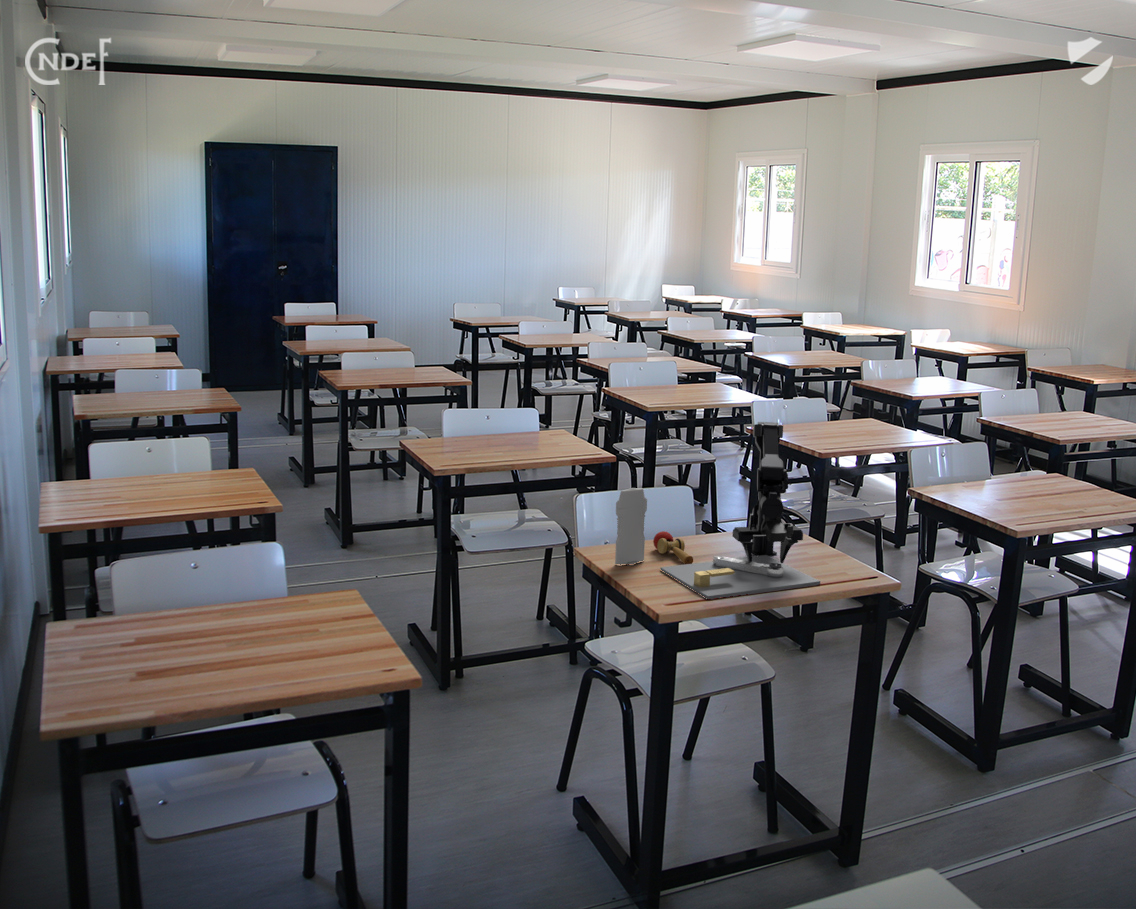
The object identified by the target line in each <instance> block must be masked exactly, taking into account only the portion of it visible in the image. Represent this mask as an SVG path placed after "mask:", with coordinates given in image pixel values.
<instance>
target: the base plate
mask: <svg viewBox="0 0 1136 909" xmlns="http://www.w3.org/2000/svg"><path fill="white" fill-rule="evenodd" d="M735 559H739V560H744V561H748V559H747V556H745V557H737V558H735ZM752 562H755V563H760V564H766V565H770V563H778V564H781V565H782V566H781V567H783V568H784V570H783V577H780V578H774V577H769V576H767V575H763V574H757V573H752V572H747V571H742V570H737V569H731V568H730V569H731V570H733V571H735V574H731V575H723V576H715V577H711V576H710V586H708V587H698V586H696V585H695V584H694V572H699V571H705V572H706V571H707V570H715V569H723V568H726V567H721V566H716V565H713V561H712V560H711V561H704V562H696V563H695V562H693V563H692V564H680V565H679V564H678V565H677V564H676V565H669V566H663V567H662V566H661V567H660V569H661V570H662V571H664V572H665V573H667V574H669V575H670V576H672V577H673V578H675V579H677V580H678V581H680V582H681V583H683V584H684V585H686V586H688V587H689V588H691V589H693V590H694V591H696V592H697V593H699V594H701V595H702V596H704V597H705V598H707V599H711V600H715V599H714V598H719V599H723V598H722V597H726V598H731V597H730V596H733V597H738V596H737V595H741V596H747V595H746V594H748V595H755V594H761V593H770V592H775V591H782V590H783V591H784V590H791V589H799V588H805V587H814V586H820V585H821V580H819V579H817V578H815V577H813V576H811V575H809V574H806V573H804V572H803V571H800V570H798V569H796V568H794V567H792V566H790V565H789V564H786V563H784V562H783V563H781V562H780V560H778V559H775V558H774V557H771V556H770V555H762V556H757V555H754V556H753V555H752ZM665 573H664V574H665ZM670 576H669V577H670ZM673 578H672V579H673ZM678 581H677V582H678ZM681 583H680V584H681ZM683 584H682V585H683ZM819 584H820V585H819ZM684 585H683V586H684ZM686 586H685V587H686ZM689 588H688V589H689ZM691 589H690V590H691ZM694 591H693V592H694ZM697 593H696V594H697ZM699 594H698V595H699ZM702 596H701V597H702ZM704 597H703V598H704ZM720 597H721V598H720ZM705 598H704V599H705ZM707 599H706V600H707Z"/></svg>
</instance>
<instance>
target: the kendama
mask: <svg viewBox="0 0 1136 909" xmlns="http://www.w3.org/2000/svg"><path fill="white" fill-rule="evenodd" d="M652 542H653V546H654V548H655V549H656V550H657V551H658V553H660V554H666V552H670V551H672V552H673V554H674V555H675V556H676V557H677V558H678V559H679V560H680V561H681V562H682V563H683V565H685V564H694V557H693V556H692V555H690V554H688V553H687V552H685V548H686V547H685V546H686V545H685V541H684V539H682V538H675V539H674V536H673V535H672V534H671V533H669V532H668V531H663V530H662V531H660V532H657V533H656V534H655V535H654V538H653V541H652Z"/></svg>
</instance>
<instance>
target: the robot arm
mask: <svg viewBox="0 0 1136 909" xmlns="http://www.w3.org/2000/svg"><path fill="white" fill-rule="evenodd" d="M752 430H753V431H752V433H753V434H752V436H753V438H754V443H755V446H756V447H757V449H758V451H759V467H758V468H757V470H756V489H757V490H756V491H757V492H758V495H757V496H758V498H757V499H758V500H757V502H756V503H755V505H754V506H753V508H752V510H751V511H752V512H750V514H749V519H748V526H735V527H734V528H733V530H732V537H733V538H734V539H735V540H736V541H737V542H739V543H741V546H742V547H743V550H744V552H745V555H746V556H745V557H747V559H748V561H750V562H752V557H753V555H754V556H762V555H767V556H773V555H777V554H778V552H777V551H775V550H774V543H775V542H776V543H779V542H780V548H779V550H780V551H779V561H780V562H781V563H784V562H785V560H786V557H787V555H788V552H789V551H790V549H791V547H793V545H795V544H798V543H799V541H804V532H803V530H802V529H800V528H799V527H797V526H796V525H794V524H793V523H790V522H789V523H783V521H782V514H783V512H784V504H783V502H782V494H784V493H785V494H786V493H787V490H788V489H789V473H788V471H787V469H785V468H784V465H785V464H784V461H783V460H782V459H781V458H780V457H779V444H780V442H781V439H783V438H784V437H783V436H784V425H782V424H779V422H773V421H772V422H771V421H758V422H757V424H753V429H752Z"/></svg>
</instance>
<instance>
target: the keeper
mask: <svg viewBox="0 0 1136 909" xmlns="http://www.w3.org/2000/svg"><path fill="white" fill-rule="evenodd" d="M731 574H735V571H733V570H731V569H730V568H723V569H715V570H707V571H706V572H705V571H699V572H694V584H695V585H696V586H698V587H708V586H710V576H711V577H715V576H723V575H731Z"/></svg>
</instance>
